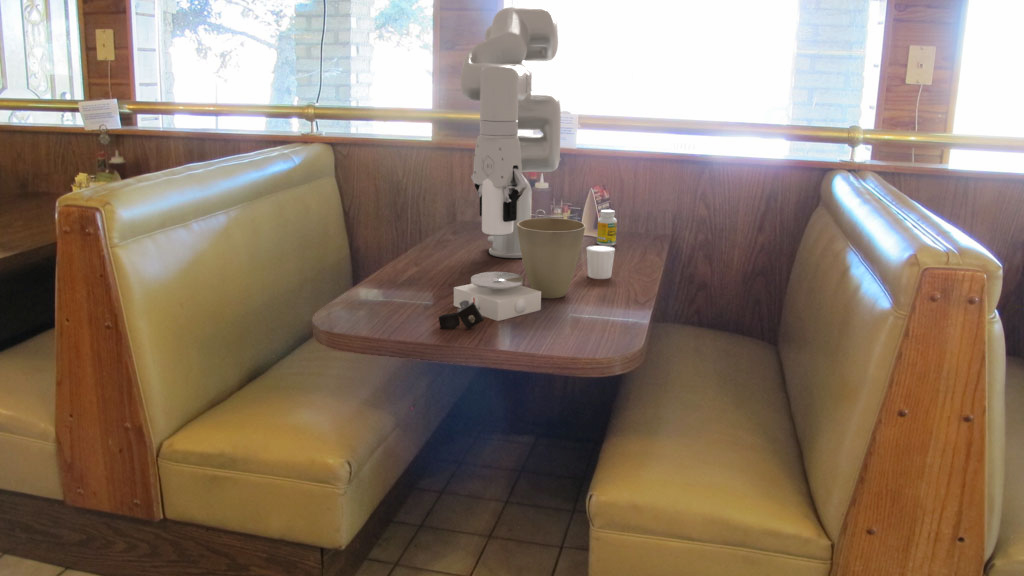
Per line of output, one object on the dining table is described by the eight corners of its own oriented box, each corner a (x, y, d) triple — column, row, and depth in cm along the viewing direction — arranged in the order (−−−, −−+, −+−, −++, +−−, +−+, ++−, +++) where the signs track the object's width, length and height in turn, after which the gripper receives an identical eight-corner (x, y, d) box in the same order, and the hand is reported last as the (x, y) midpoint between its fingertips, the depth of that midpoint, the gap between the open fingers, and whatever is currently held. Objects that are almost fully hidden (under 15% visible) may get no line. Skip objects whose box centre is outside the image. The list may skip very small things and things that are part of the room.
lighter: (448, 341, 163) (434, 320, 162) (449, 338, 165) (435, 316, 164) (483, 321, 162) (468, 299, 161) (484, 318, 164) (469, 296, 162)
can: (481, 229, 176) (481, 172, 173) (511, 229, 176) (512, 172, 173) (482, 236, 170) (482, 176, 166) (514, 236, 170) (515, 176, 167)
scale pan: (460, 285, 176) (460, 277, 176) (499, 277, 183) (499, 269, 183) (495, 296, 168) (495, 288, 168) (534, 287, 176) (534, 279, 175)
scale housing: (452, 306, 178) (452, 287, 177) (496, 295, 186) (496, 278, 185) (497, 321, 168) (497, 302, 167) (541, 310, 176) (542, 291, 175)
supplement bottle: (605, 241, 243) (606, 208, 241) (619, 244, 240) (621, 210, 237) (593, 243, 240) (594, 210, 237) (607, 246, 236) (609, 213, 233)
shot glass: (612, 280, 200) (613, 251, 199) (583, 278, 202) (584, 250, 200) (614, 273, 207) (616, 245, 205) (587, 271, 208) (588, 244, 206)
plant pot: (503, 290, 191) (504, 220, 186) (558, 282, 198) (560, 215, 194) (538, 307, 178) (540, 233, 174) (595, 298, 185) (599, 227, 181)
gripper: (456, 127, 171) (456, 214, 176) (514, 133, 159) (513, 227, 164) (484, 125, 176) (483, 210, 181) (542, 131, 164) (540, 222, 169)
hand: (497, 217), depth 172 cm, fingers closed on can, 6 cm apart
